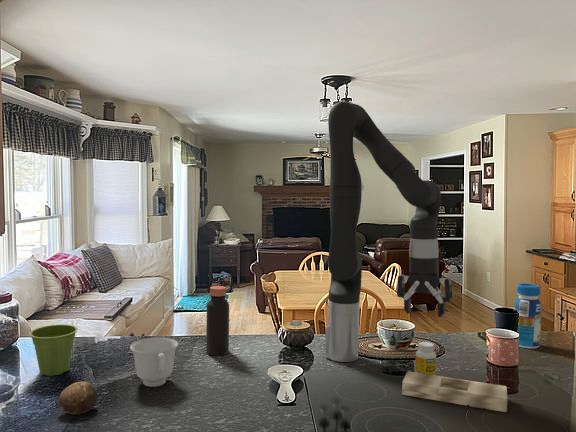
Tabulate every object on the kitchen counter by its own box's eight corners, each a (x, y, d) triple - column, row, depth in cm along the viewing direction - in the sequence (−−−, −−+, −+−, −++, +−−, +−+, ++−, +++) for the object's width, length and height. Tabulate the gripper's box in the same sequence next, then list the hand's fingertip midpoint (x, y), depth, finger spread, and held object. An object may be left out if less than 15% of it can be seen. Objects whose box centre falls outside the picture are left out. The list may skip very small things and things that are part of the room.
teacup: (137, 399, 122) (137, 358, 121) (126, 378, 135) (126, 340, 134) (187, 391, 127) (187, 351, 126) (171, 370, 140) (171, 335, 140)
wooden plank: (401, 394, 127) (402, 381, 127) (407, 382, 135) (407, 371, 135) (506, 412, 119) (507, 398, 118) (505, 398, 126) (506, 386, 126)
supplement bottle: (424, 373, 142) (425, 339, 141) (439, 380, 137) (441, 345, 137) (410, 377, 139) (411, 342, 138) (425, 384, 134) (427, 348, 134)
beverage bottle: (506, 341, 172) (509, 282, 171) (530, 340, 173) (533, 282, 172) (520, 349, 164) (524, 288, 163) (545, 349, 165) (548, 287, 164)
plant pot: (22, 371, 138) (22, 330, 137) (66, 360, 147) (66, 322, 146) (40, 383, 130) (39, 340, 129) (85, 371, 139) (85, 330, 138)
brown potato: (68, 386, 121) (72, 370, 117) (100, 398, 121) (105, 383, 118) (50, 415, 114) (54, 399, 111) (84, 428, 115) (89, 412, 111)
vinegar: (233, 351, 157) (234, 287, 156) (218, 357, 151) (219, 290, 150) (216, 347, 161) (216, 284, 159) (201, 353, 155) (202, 287, 154)
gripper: (393, 255, 137) (394, 315, 138) (447, 258, 130) (448, 321, 131) (402, 252, 144) (402, 309, 145) (454, 254, 137) (454, 314, 138)
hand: (424, 314), depth 138 cm, fingers open, 8 cm apart
